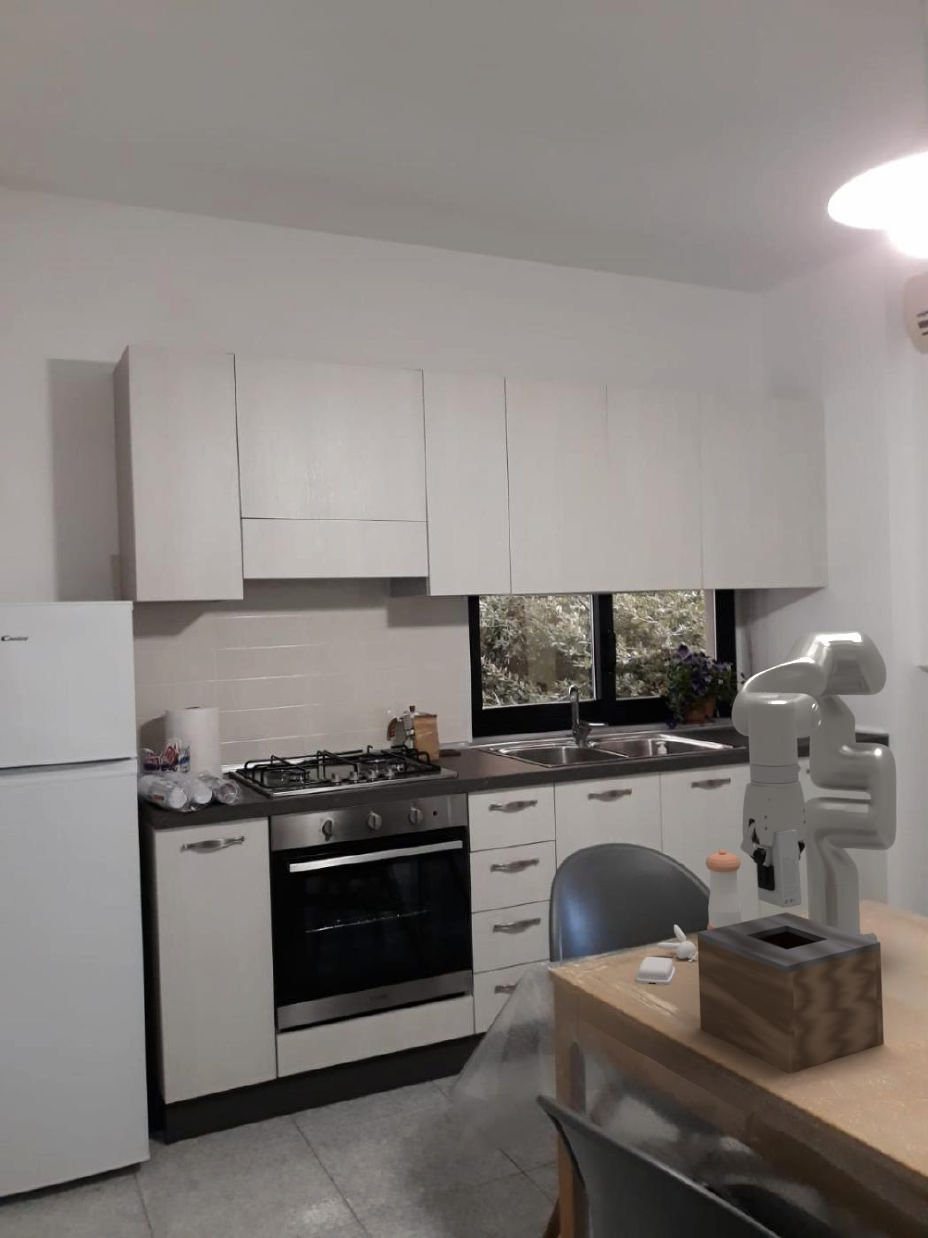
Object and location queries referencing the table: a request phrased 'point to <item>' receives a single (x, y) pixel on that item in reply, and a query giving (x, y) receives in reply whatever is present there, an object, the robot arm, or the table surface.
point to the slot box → (791, 989)
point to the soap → (656, 971)
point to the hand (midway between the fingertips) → (778, 885)
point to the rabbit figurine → (680, 946)
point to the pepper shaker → (723, 890)
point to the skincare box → (784, 871)
